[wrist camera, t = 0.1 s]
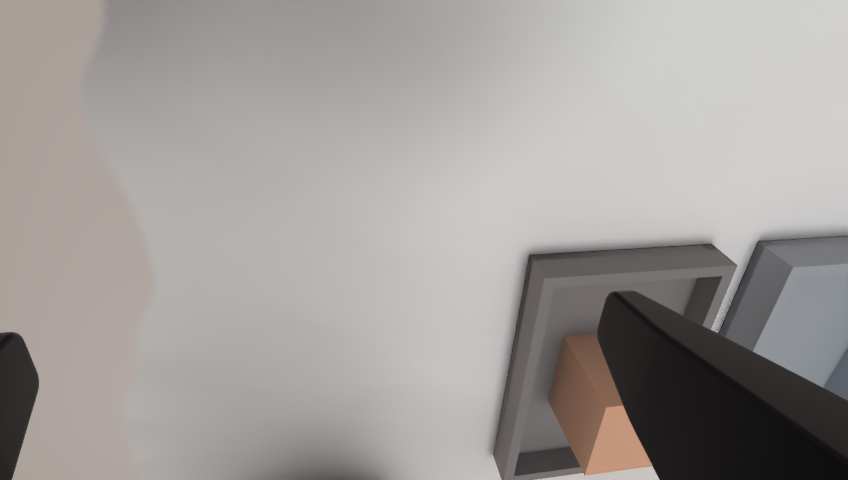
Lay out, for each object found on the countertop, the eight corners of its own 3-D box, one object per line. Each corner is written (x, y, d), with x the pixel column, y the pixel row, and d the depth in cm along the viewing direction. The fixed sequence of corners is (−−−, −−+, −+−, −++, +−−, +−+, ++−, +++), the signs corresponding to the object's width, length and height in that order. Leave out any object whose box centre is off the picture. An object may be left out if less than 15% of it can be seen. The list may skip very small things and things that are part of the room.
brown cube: (625, 392, 33) (672, 463, 29) (548, 401, 32) (584, 475, 28) (647, 328, 31) (701, 396, 27) (563, 336, 30) (606, 407, 26)
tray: (804, 415, 39) (833, 444, 37) (676, 432, 37) (698, 463, 35) (913, 232, 31) (957, 255, 29) (758, 241, 30) (793, 267, 27)
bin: (639, 437, 37) (655, 462, 35) (493, 456, 35) (503, 483, 33) (712, 244, 29) (737, 265, 27) (529, 255, 27) (544, 278, 25)
